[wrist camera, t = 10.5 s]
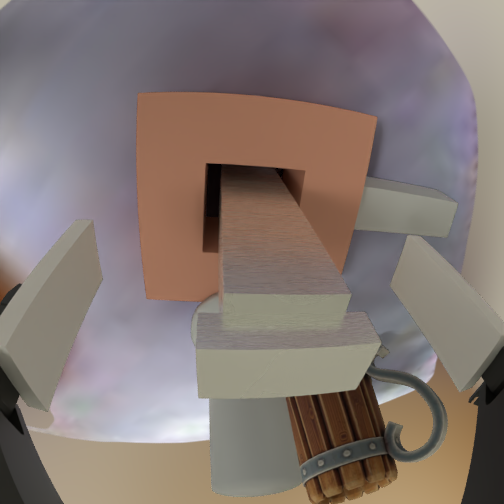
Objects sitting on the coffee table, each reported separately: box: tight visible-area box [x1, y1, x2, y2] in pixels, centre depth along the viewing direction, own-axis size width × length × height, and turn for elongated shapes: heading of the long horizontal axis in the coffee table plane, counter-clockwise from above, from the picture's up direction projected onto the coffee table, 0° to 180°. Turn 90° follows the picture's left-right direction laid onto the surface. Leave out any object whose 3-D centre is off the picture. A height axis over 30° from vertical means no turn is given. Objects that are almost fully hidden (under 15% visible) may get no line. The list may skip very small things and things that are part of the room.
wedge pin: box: [196, 164, 382, 399], centre depth 13 cm, size 4×3×15 cm
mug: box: [286, 345, 448, 504], centre depth 24 cm, size 16×11×15 cm
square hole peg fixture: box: [136, 92, 458, 497], centre depth 15 cm, size 22×17×16 cm
